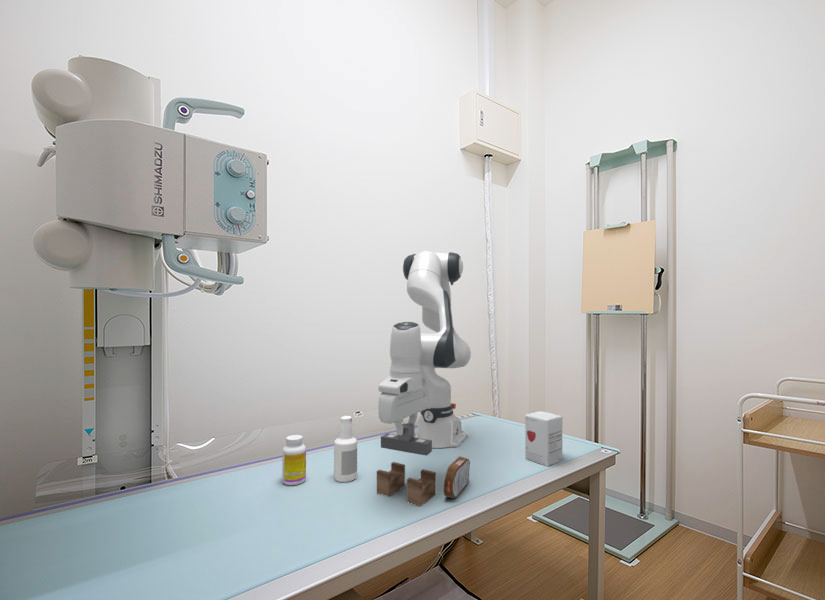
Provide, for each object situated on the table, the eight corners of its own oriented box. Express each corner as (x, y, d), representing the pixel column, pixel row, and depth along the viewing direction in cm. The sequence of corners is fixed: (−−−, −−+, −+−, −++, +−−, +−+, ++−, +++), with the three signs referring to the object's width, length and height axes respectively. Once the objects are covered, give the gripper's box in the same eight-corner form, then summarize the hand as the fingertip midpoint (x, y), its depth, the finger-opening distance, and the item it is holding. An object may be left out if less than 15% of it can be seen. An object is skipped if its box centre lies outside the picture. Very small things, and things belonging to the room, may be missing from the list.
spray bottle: (352, 483, 118) (352, 421, 119) (330, 481, 120) (330, 419, 120) (360, 474, 125) (360, 415, 125) (339, 472, 126) (339, 413, 127)
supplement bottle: (308, 483, 119) (308, 438, 119) (285, 488, 115) (285, 442, 116) (302, 474, 124) (302, 432, 125) (279, 479, 121) (280, 435, 121)
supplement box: (524, 458, 138) (524, 414, 138) (539, 453, 144) (539, 410, 144) (547, 467, 131) (547, 420, 131) (563, 460, 137) (563, 415, 137)
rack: (393, 482, 119) (393, 461, 119) (435, 494, 112) (435, 472, 112) (376, 493, 112) (376, 471, 112) (420, 506, 105) (420, 482, 105)
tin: (461, 480, 121) (461, 451, 121) (471, 482, 120) (471, 453, 120) (442, 502, 107) (442, 469, 108) (453, 504, 106) (453, 471, 106)
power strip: (387, 443, 117) (387, 420, 117) (431, 451, 111) (431, 427, 111) (380, 447, 114) (380, 424, 114) (426, 455, 108) (426, 430, 108)
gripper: (416, 375, 123) (416, 421, 123) (374, 386, 106) (374, 440, 106) (434, 377, 120) (434, 424, 119) (394, 389, 102) (394, 444, 102)
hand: (405, 432), depth 112 cm, fingers closed on power strip, 4 cm apart
